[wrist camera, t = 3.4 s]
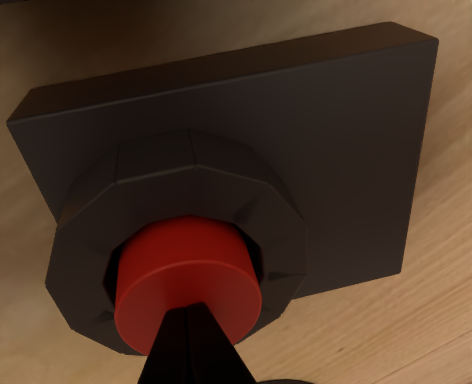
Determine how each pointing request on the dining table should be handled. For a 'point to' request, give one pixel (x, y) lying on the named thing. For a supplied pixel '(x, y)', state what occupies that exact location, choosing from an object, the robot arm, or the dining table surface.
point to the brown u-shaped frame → (9, 1)
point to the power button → (185, 278)
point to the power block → (236, 163)
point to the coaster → (284, 382)
